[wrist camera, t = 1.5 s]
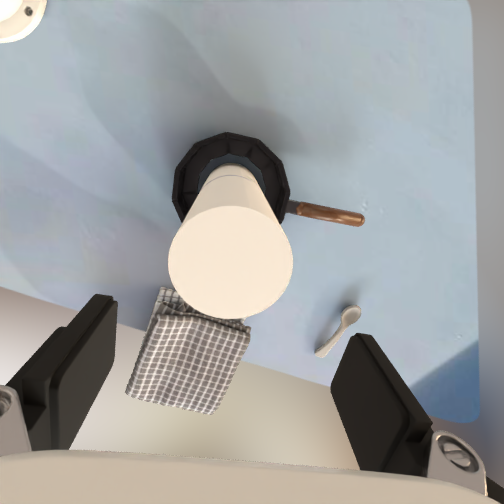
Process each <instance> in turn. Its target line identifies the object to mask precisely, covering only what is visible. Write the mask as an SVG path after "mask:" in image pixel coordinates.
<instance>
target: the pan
mask: <svg viewBox="0 0 504 504" xmlns="http://www.w3.org/2000/svg"><path fill="white" fill-rule="evenodd" d="M226 154H233V155H238V156H242V157H247V158H248V159H249V160H250V161H251V162H253V163H254V164H255V165H256V166H257V167H258V168H259V169H260V170H261V173H262V176H263V179H264V183H265V186H266V190H265V194H264V196H265V198H266V200H267V202H268V204H269V205H270V207H271V209H272V211H273V213H274V215H275V217H276V218H277V220H278V222H279V224H281V223H282V221H283V220H284V216H285V213H290V214H296V215H299V216H305V217H310V218H315V219H320V220H325V221H330V222H335V223H340V224H345V225H350V226H356V227H359V226H362V225H363V224H364V222H365V218H364V216H363V215H362V214H360V213H355V212H350V211H345V210H340V209H335V208H330V207H325V206H321V205H316V204H311V203H306V202H299V201H294V200H289V197H290V188H289V184H288V181H287V177H286V173H285V170H284V166H283V163H282V161H281V160H280V159H279V158H278V157H277V156H276V155H275V154H274V153H273V152H272V151H271V150H270V149H269V148H268V147H267V146H266V145H264V144H263V143H262V142H261V141H260V140H259V139H256V138H252V137H247V136H243V135H238V134H234V133H230V132H225V133H222V134H219V135H216V136H213V137H210V138H208V139H205V140H202V141H199V142H196V143H195V144H194V145H193V146H192V148H191V149H190V150H189V152H188V153H187V154H186V155H185V157H184V158H183V159H182V160H181V162H180V163H179V164H178V166H177V167H176V169H175V175H174V184H173V193H172V202H173V204H174V207H175V209H176V211H177V213H178V216H179V218H180V220H181V222H182V223H183V221H184V219H185V218H186V216H187V214H188V212H189V210H190V209H191V207H192V205H193V203H194V201H195V200H196V198H197V196H198V194H197V188H198V181H199V174H200V173H201V171H202V170H203V169H204V168H205V167H206V165H207V164H208V163H209V162H210V160H212V159H214V158H217V157H220V156H223V155H226Z"/></svg>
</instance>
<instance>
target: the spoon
mask: <svg viewBox="0 0 504 504" xmlns="http://www.w3.org/2000/svg"><path fill="white" fill-rule="evenodd" d="M360 316H361V308H360V307H359V306H357V305H350V306H348V307H346V308H345V309H344V310H343V312H342V314H341V324H340V326H339V328H338V330H337V331H336V332H335V334H334V335H333V336H332V337H331V338H330V339H329V340H328V341H327V342H326V343H325V344H324V345H322V346H321V347H320V348H318V349H317V350H316V351H315V355H316V356H318V357H321V358H323V357H325V356H326V354H327V353H328V352H329V350H330V349H331V348H332V347H333V346H334V345H335V344H336V342H337V341H338V340H339V338H340V337H341V335H342V334H343V332H344V331H345V329H346V328H347V327H348V326H349V325H351V324H353V323H355V322H356V321H357V320H358V319H359V318H360Z"/></svg>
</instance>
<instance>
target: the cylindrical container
mask: <svg viewBox="0 0 504 504" xmlns="http://www.w3.org/2000/svg"><path fill="white" fill-rule="evenodd" d="M292 267H293V257H292V250H291V247H290V244H289V242H288V239H287V237H286V235H285V233H284V231H283V230H282V228H281V226H280V224H279V222H278V220H277V218H276V217H275V215H274V213H273V211H272V209H271V207H270V205H269V204H268V202H267V200H266V198H265V196H264V194H263V192H262V191H261V189H260V187H259V185H258V183H257V181H256V179H255V177H254V176H253V174H252V173H251V172H250V171H249V170H248V169H247V168H246V167H244V166H242V165H240V164H237V163H226V164H222V165H220V166H218V167H217V168H215V169H214V170H213V171H212V172H211V173H210V175H209V177H208V178H207V180H206V182H205V184H204V185H203V187H202V189H201V191H200V193H199V194H198V196H197V198H196V200H195V201H194V203H193V205H192V207H191V209H190V210H189V212H188V214H187V216H186V218H185V219H184V221H183V223H182V225H181V227H180V228H179V230H178V232H177V234H176V236H175V237H174V239H173V241H172V244H171V247H170V250H169V257H168V268H169V275H170V278H171V281H172V284H173V286H174V287H175V289H176V291H177V292H178V294H179V295H180V296H181V297H182V298H183V300H184V301H185V302H186V303H187V304H189V305H190V306H191V307H193V308H194V309H196V310H198V311H200V312H202V313H204V314H206V315H209V316H212V317H216V318H222V319H239V318H244V317H249V316H252V315H254V314H257V313H260V312H261V311H263V310H265V309H266V308H268V307H270V306H271V305H272V304H273V303H274V302H275V301H276V300H278V298H279V297H280V296H281V295H282V293H283V292H284V291H285V289H286V287H287V285H288V283H289V281H290V277H291V274H292Z"/></svg>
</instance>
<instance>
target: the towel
mask: <svg viewBox="0 0 504 504" xmlns="http://www.w3.org/2000/svg"><path fill="white" fill-rule="evenodd" d="M245 319H246V317H244V318H239V319H222V318H216V317H212V316H209V315H206V314H204V313H202V312H200V311H198V310H196V309H194V308H193V307H191V306H190V305H189V304H187V303H186V302H185V301H184V300H183V298H182V297H181V296H180V295H179V294H178V292H177V291H173V290H172V289H167V288H165V287H161V288H160V290H159V295H158V296H157V300H156V302H155V305H154V308H153V311H152V314H151V318H150V322H149V325H148V328H147V330H146V334H145V337H144V339H143V342H142V346H141V350H140V352H139V356H138V358H137V361H136V363H135V367H134V369H133V373H132V374H131V378H130V379H129V383H128V384H127V388H126V391H125V393H126V394H127V395H129V396H131V397H134V398H138V399H139V400H144V401H147V402H153V403H159V404H161V405H167V406H175V407H180V408H182V409H187V410H190V411H195V412H201V413H204V414H210V415H211V414H213V413H214V412H215V411H216V409H217V408H218V407H219V405H220V403H221V401H222V399H223V397H224V395H225V393H226V391H227V389H228V387H229V384H230V382H231V380H232V377H233V375H234V372H235V371H236V368H237V366H238V364H239V362H240V360H241V358H242V356H243V354H244V353H245V350H246V349H247V347H248V344H249V342H250V330H251V327H249V326H245V325H243V323H244V321H245Z"/></svg>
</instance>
